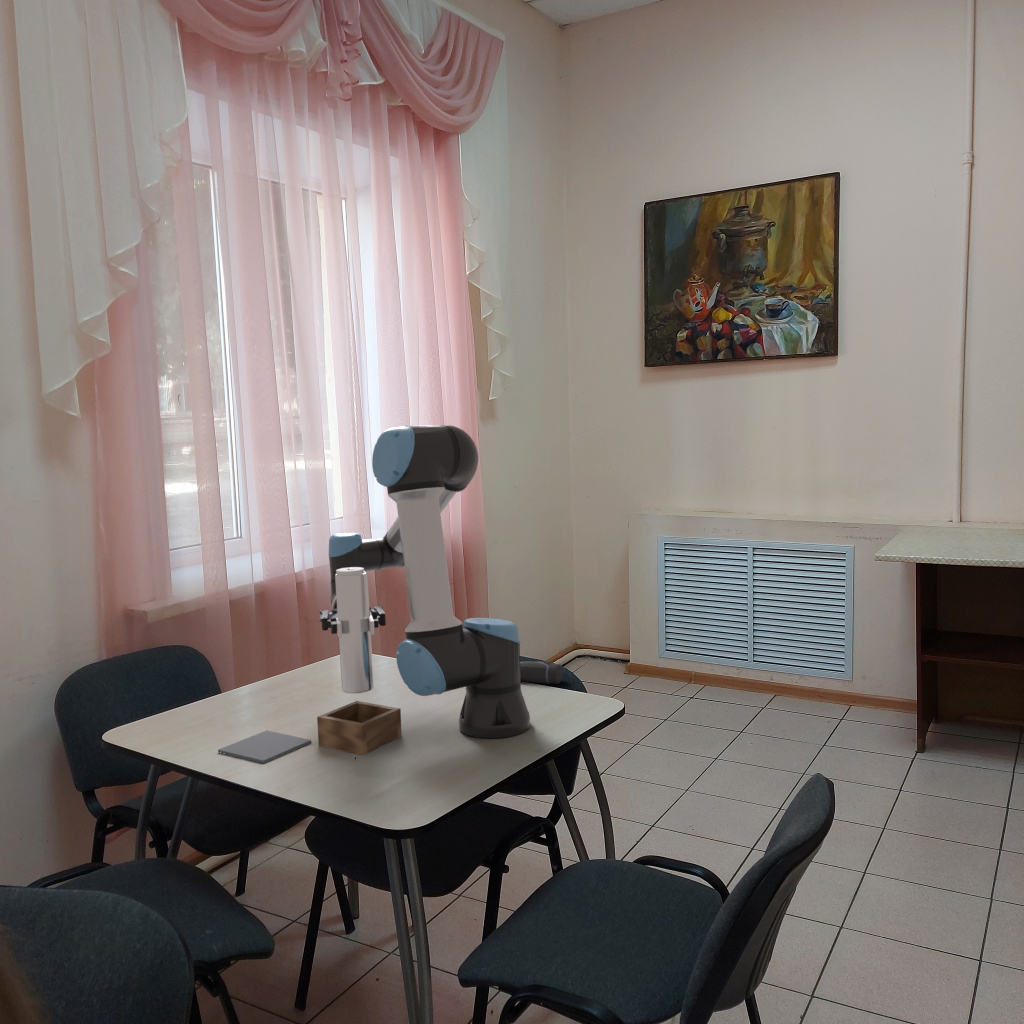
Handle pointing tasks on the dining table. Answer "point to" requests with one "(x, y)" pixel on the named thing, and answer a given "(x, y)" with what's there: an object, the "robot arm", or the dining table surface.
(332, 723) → the square wooden frame
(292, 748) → the mat
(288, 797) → the dining table surface
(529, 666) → the power drill
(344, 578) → the shiny metal cylinder
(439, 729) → the dining table surface
